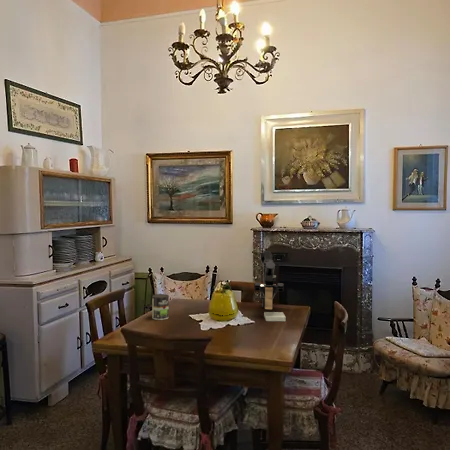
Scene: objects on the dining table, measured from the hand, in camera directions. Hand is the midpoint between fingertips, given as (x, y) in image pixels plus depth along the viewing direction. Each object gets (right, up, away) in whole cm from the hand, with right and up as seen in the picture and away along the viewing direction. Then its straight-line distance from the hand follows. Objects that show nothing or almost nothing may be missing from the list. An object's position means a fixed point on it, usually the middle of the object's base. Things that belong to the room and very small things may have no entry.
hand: (268, 298), depth 269 cm
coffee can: (-68, -13, +2) cm, 69 cm away
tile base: (+4, -13, +3) cm, 14 cm away
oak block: (0, -6, +2) cm, 7 cm away
